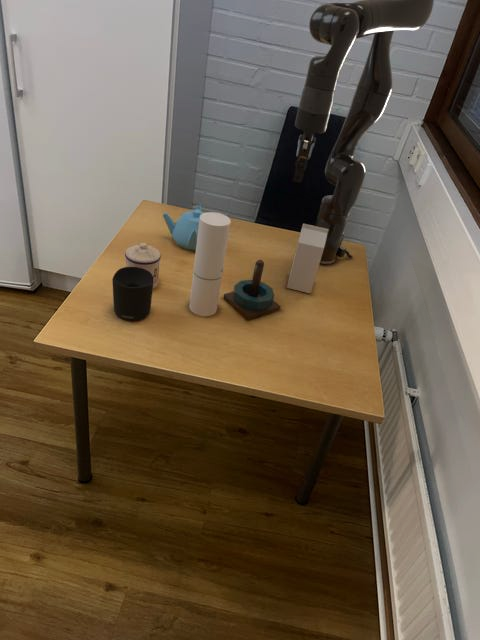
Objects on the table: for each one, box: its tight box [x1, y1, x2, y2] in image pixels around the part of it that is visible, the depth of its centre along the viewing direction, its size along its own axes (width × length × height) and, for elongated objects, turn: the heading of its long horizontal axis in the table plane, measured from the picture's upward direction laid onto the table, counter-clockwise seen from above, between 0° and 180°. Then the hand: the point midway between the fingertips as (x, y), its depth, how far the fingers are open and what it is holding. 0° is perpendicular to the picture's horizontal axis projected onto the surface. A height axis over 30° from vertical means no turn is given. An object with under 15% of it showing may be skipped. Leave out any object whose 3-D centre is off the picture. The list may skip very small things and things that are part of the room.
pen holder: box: [111, 266, 154, 322], centre depth 112 cm, size 9×9×10 cm
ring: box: [232, 279, 275, 311], centre depth 125 cm, size 11×11×3 cm
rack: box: [223, 259, 281, 322], centre depth 122 cm, size 11×11×14 cm
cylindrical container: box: [189, 211, 232, 317], centre depth 114 cm, size 7×7×25 cm
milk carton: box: [286, 223, 328, 294], centre depth 133 cm, size 7×7×19 cm
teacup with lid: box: [124, 242, 162, 290], centre depth 124 cm, size 12×9×12 cm
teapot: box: [162, 205, 204, 252], centre depth 146 cm, size 15×15×11 cm
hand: (298, 176), depth 118 cm, fingers open, 8 cm apart
